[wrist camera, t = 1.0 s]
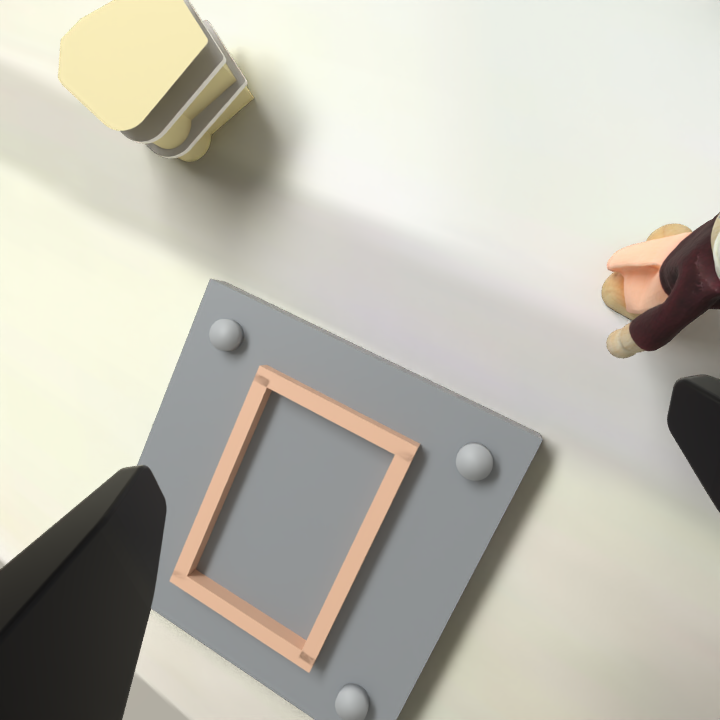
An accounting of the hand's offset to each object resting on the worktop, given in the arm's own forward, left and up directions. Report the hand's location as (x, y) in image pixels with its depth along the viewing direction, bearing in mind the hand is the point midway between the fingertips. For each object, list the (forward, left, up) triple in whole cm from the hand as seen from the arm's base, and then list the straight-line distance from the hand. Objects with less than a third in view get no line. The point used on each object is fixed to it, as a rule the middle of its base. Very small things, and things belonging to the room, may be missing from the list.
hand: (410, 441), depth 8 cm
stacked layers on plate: (+19, -7, -17) cm, 26 cm away
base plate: (+5, +10, -16) cm, 19 cm away
